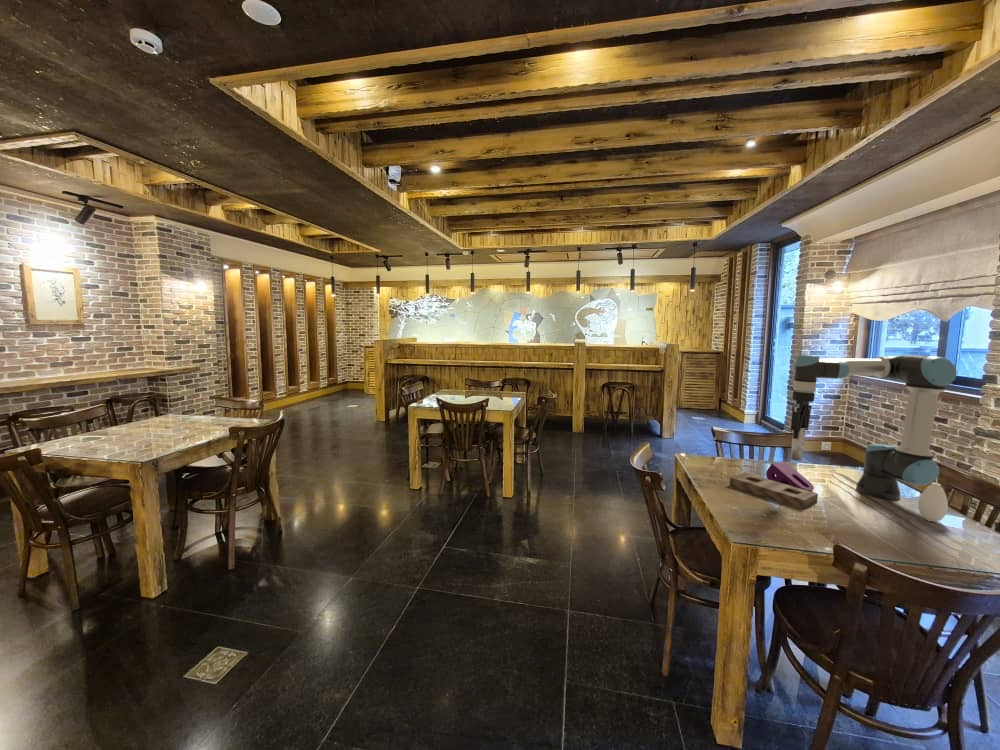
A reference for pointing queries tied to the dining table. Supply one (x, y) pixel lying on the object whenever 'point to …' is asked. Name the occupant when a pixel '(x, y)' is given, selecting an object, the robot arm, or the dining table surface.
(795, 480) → the mounting bracket
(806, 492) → the mount plate
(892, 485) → the robot arm
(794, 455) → the steel pin
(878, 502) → the dining table surface
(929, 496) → the white rounded egg-shaped figurine
